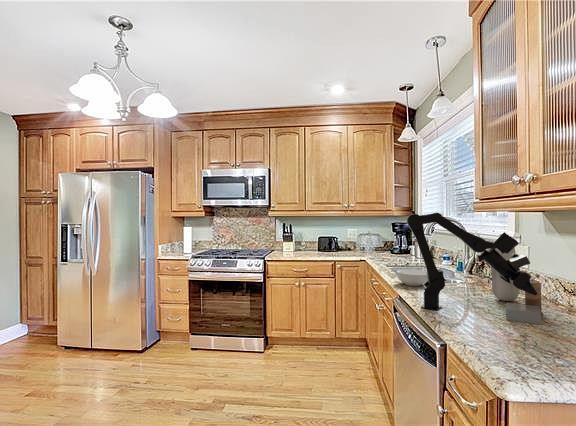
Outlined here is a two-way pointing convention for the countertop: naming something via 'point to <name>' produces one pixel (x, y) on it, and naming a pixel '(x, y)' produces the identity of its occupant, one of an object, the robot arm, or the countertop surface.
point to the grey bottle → (503, 283)
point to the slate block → (523, 313)
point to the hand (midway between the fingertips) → (531, 291)
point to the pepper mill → (533, 299)
